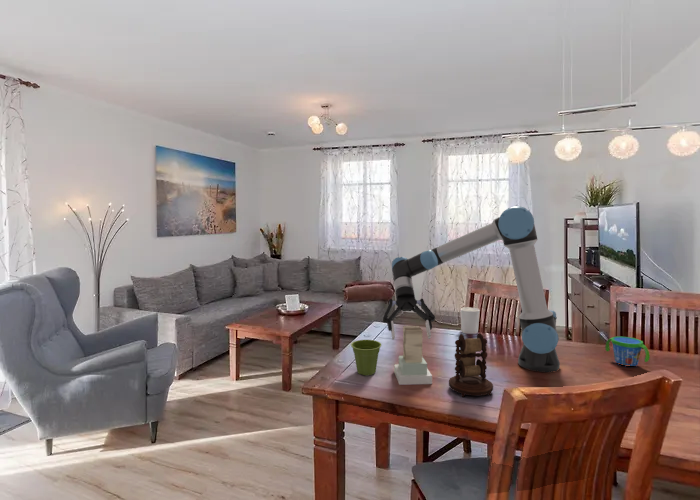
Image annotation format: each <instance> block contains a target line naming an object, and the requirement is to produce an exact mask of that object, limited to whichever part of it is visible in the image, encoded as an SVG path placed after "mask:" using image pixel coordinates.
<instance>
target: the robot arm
mask: <svg viewBox="0 0 700 500" xmlns="http://www.w3.org/2000/svg"><path fill="white" fill-rule="evenodd" d="M498 241H503V243H502V244H503V246H504V247H505V248H507V249H508V250H509V255H510V259H511V263H512V264H511V265H512V269H513V273H514V279H515V283H516V287H517V293H518V297H519V302H520V307H521V313H520V314H519V316H518V319H519V324H520V328H521V329H520V330H521V340H522V342H523V343H522V344H523V345H522V347H521V350H520V351H519V355H518V361H517V363H518V365H519V366H520V367H521V368H524V369H527V370H530V371H533V372H538V371H539V372H538V373H554V372H553V371H555V372H558V371H559V370H560V369H559V368H561V367H560V365H561V363H560V359H559V357H558V354H557V353H558V352H557V349H556V347H557V345H558V343H559V339H560V338H559V334H558V330H557V317H558V316H557V312H556V311H554V310H552V309H549V308H548V306H547V305H548V304H547V301H546V295H545V291H544V286H543V282H542V277H541V272H540V266H539V263H538V258H537V252H536V248H535V244H536V242H537V241H538V235H537V230H536V226H535V219H534V216H533V214H532V212H531V211H530V210H529V209H527V208H526V207H523V206H521V205H520V206H519V205H517V206H516V205H515V206H511V207H508V208H506V209H504V211H502V213H501V214H500V216H499V217H496V218H494V219H493V221H492V222H491V223H489V224H486V225H484V226H482V227H480V228H477V229H475V230H473V231H471V232H469V233H466V234H464V235H462V236H459V237H457V238H455V239H453V240H450V241H447V242H446V243H443V244H442V245H439V246H437V247H433V248H431V249H428V250H425V251H422V252H421V253H419V254H416V255H414V256H412V257H410V258H407V257H406V256H400V257H399V256H398V257H395V258H394V259H393V260H392V262H391V273H392V278H393V284H394V291H395V299H396V300H393V299H392V298H391V299H389V302H388V306H387V308H386V310H385V312H384V315H383V317H382V323H384V324H385V323H386V324H387V329H388V330H387V331H389V332H391V340H393V341H394V340H395V339H396V333H395V326H394V324H395V323H394V320H395V318H396V317H397V316H398V315H399V314H400V312H401V311H402V312H411V311H413V313H416V315H417V316H418V317H420V318H421V319H422V320H423V321H424V322H425V329H426V335H427V339H428V340H430V339H431V338H432V331H431V330H432V329H433V324H432V323H433V322H434V321H435V319H436V316H435V314H434V312H432V311H431V309H430V307H428V306H427V304H426V302H425V300H424V298H420V299H419V300H417V299H416V296H415V290H414V285H413V278H412V277H414V276H417V275H420V274H422V273H424V272H427V271H429V270H433V268H436V267H437V266H440V265H443V264H445V263H447V262H449V261H452V260H454V259H457V258H458V257H459V258H460V257H462V256H464V255H467V254H470V253H471V252H473V251H476V250H478V249H481V248H483V247H486V246H488V245H490V244H493V243H495V242H498ZM395 305H396V306H397V307H396V308H395V310H394V311H393V312H392V313H391V311H392V308H393V307H394V306H395ZM390 313H391V315H390ZM389 315H390V316H389ZM558 369H559V370H558ZM557 370H558V371H557Z"/></svg>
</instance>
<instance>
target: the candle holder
mask: <svg viewBox="0 0 700 500" xmlns="http://www.w3.org/2000/svg"><path fill="white" fill-rule="evenodd" d="M480 311H481V310H480V309H479V308H476V307H470V306H469V307H461V308H460V327H461V328H460V330H461V332H462V333H464V334H466V335H476V334H479V324H480V323H479V322H480Z"/></svg>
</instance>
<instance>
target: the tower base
mask: <svg viewBox="0 0 700 500" xmlns="http://www.w3.org/2000/svg"><path fill="white" fill-rule="evenodd" d="M393 367H394V368H393V373H394V375H395V377H396V380H397V383H398V385H399V386H402V385H403V386H404V385H405V386H407V385H432V384H433V374H432V373H431V371H430V370H429V369H428V362H427V361H426V359H425V358H424V356H423V355H422V362H410V363H406V361H405V359H404V358H403V355H398V363H397V364H394V365H393Z"/></svg>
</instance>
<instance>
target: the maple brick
mask: <svg viewBox="0 0 700 500" xmlns="http://www.w3.org/2000/svg"><path fill="white" fill-rule="evenodd" d="M402 327H403V328H402V330H403V331H402V333H403V335H402V339H403V340H402V342H403V343H402V344H403V345H402V354H403V355H402V356H403V358H404V359H405V361H406V363H410V362H422V356H423V329H422V328H421V327H420V325H404V326H402Z"/></svg>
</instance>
